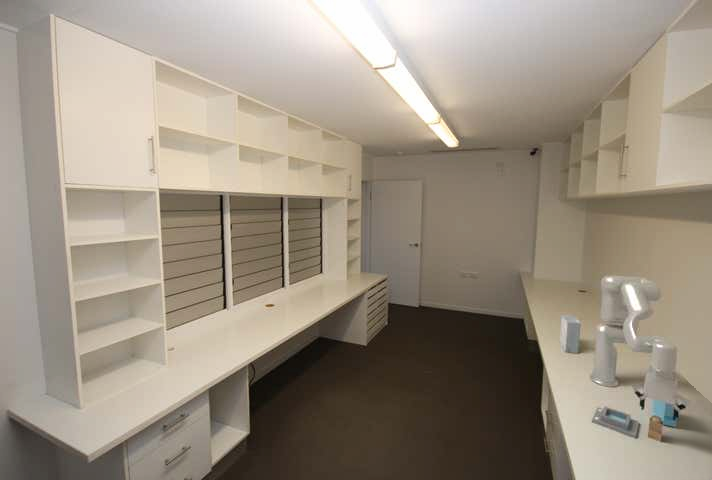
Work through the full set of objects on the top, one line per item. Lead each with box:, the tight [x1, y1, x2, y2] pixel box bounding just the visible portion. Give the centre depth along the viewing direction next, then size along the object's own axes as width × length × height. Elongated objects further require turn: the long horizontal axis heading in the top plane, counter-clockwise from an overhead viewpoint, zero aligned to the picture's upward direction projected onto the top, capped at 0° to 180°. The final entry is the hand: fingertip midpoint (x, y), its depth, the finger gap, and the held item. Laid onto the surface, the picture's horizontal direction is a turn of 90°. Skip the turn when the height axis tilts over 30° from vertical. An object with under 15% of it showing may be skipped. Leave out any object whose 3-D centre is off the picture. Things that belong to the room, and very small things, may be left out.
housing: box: [591, 406, 640, 439], centre depth 150 cm, size 13×15×4 cm
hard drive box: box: [559, 314, 582, 354], centre depth 225 cm, size 16×8×20 cm, turn 161°
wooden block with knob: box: [647, 415, 664, 443], centre depth 141 cm, size 4×4×8 cm
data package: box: [651, 399, 679, 428], centre depth 152 cm, size 12×4×12 cm, turn 156°
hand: (658, 413), depth 140 cm, fingers open, 9 cm apart
